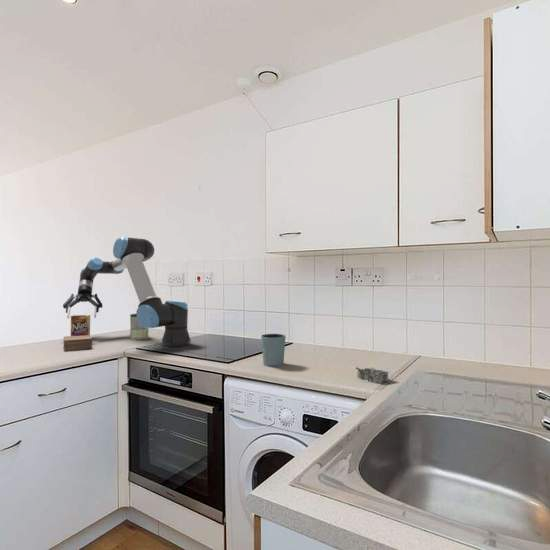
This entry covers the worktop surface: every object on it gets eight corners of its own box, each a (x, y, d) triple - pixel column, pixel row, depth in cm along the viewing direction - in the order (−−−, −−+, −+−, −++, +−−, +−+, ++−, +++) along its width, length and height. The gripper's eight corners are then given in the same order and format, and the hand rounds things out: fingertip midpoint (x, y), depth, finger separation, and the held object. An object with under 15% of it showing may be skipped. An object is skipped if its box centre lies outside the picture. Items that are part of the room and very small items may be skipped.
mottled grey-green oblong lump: (354, 378, 133) (353, 366, 133) (368, 375, 137) (368, 364, 137) (377, 385, 124) (377, 372, 124) (391, 381, 129) (391, 369, 129)
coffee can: (127, 337, 218) (127, 314, 218) (144, 336, 224) (145, 313, 224) (133, 340, 210) (133, 315, 210) (151, 338, 216) (151, 314, 216)
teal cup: (287, 362, 156) (288, 334, 156) (281, 368, 146) (282, 337, 146) (265, 360, 159) (265, 333, 159) (257, 366, 149) (257, 336, 149)
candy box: (70, 344, 196) (70, 315, 196) (72, 342, 200) (72, 314, 200) (88, 343, 198) (88, 315, 198) (90, 342, 202) (90, 314, 202)
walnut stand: (91, 348, 184) (91, 338, 184) (64, 350, 178) (64, 340, 178) (89, 344, 196) (89, 334, 196) (63, 346, 190) (63, 336, 190)
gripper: (108, 293, 228) (106, 320, 214) (62, 293, 219) (57, 321, 205) (107, 284, 223) (105, 311, 209) (60, 284, 214) (55, 312, 200)
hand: (81, 316), depth 207 cm, fingers open, 13 cm apart
